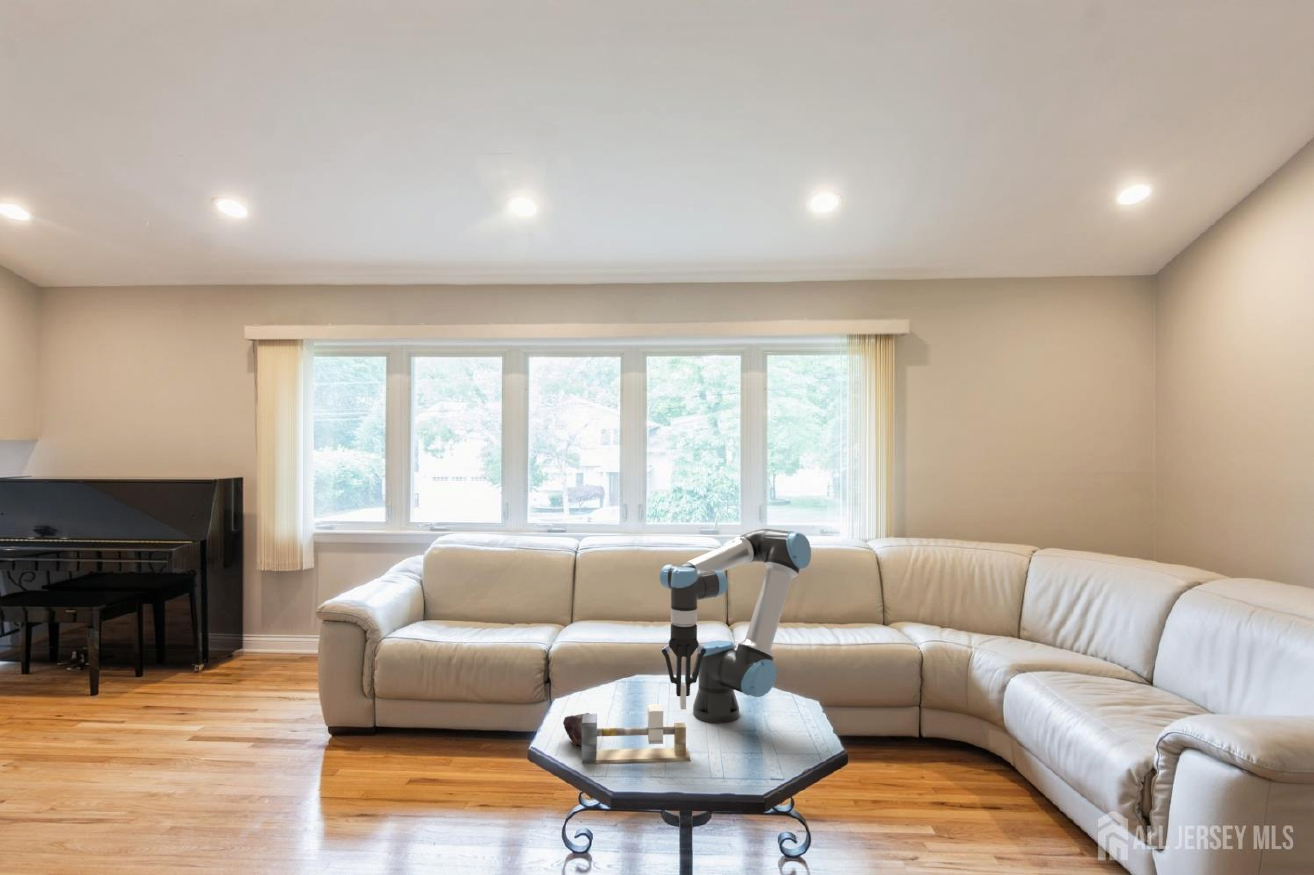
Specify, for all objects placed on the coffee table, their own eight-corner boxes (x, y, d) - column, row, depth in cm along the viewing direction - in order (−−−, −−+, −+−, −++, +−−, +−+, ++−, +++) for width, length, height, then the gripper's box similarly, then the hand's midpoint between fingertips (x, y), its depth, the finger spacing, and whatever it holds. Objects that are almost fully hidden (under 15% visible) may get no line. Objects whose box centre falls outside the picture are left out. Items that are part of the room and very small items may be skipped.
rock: (596, 738, 189) (562, 738, 188) (597, 708, 191) (564, 708, 190) (596, 750, 178) (560, 750, 177) (597, 718, 179) (562, 718, 178)
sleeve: (661, 735, 178) (661, 703, 178) (663, 743, 173) (663, 711, 173) (647, 736, 178) (647, 704, 178) (648, 744, 173) (648, 711, 173)
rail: (687, 750, 179) (687, 711, 179) (690, 760, 173) (690, 720, 173) (582, 753, 177) (583, 713, 177) (581, 763, 171) (581, 722, 171)
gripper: (704, 619, 181) (703, 702, 180) (660, 619, 180) (658, 702, 179) (708, 626, 174) (707, 712, 173) (662, 626, 173) (660, 713, 172)
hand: (682, 707), depth 176 cm, fingers closed
